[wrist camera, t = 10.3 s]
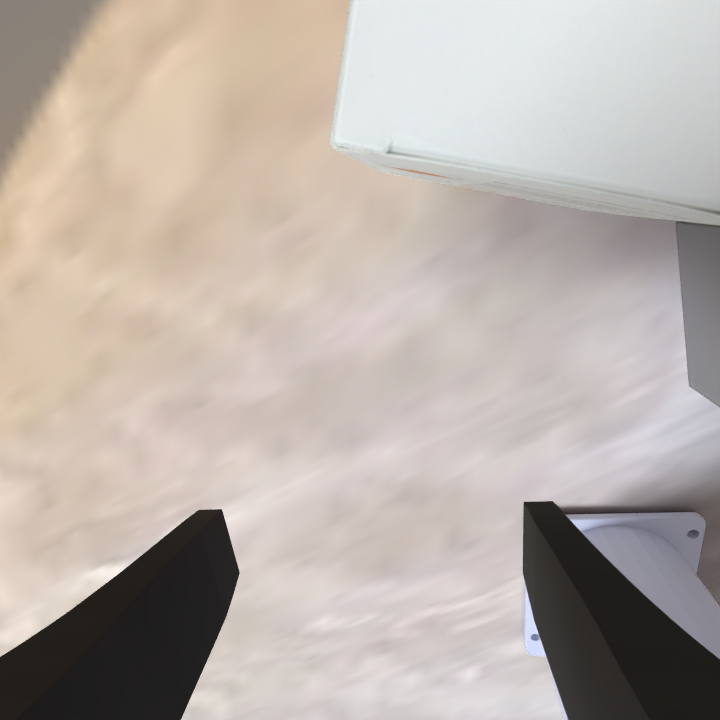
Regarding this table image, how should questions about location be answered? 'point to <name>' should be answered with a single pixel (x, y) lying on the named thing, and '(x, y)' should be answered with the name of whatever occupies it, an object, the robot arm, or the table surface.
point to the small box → (540, 100)
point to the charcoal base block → (701, 304)
